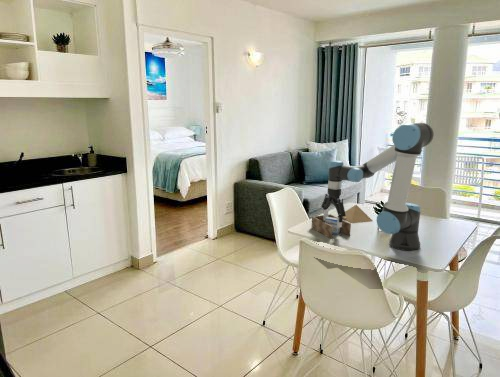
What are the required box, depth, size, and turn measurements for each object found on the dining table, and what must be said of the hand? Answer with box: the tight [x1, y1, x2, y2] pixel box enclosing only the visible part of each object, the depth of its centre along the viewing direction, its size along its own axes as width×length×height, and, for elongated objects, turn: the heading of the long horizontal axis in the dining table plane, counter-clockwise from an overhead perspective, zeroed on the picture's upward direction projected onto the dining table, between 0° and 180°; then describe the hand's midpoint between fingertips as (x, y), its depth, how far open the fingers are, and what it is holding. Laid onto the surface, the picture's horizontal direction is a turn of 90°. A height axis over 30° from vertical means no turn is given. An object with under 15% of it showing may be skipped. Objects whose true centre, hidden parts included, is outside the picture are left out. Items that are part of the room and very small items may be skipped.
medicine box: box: [325, 217, 341, 235], centre depth 220 cm, size 8×4×9 cm, turn 62°
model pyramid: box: [343, 204, 374, 224], centre depth 246 cm, size 17×17×10 cm
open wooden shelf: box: [311, 213, 352, 239], centre depth 222 cm, size 20×13×7 cm, turn 23°
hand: (332, 223), depth 220 cm, fingers open, 13 cm apart
